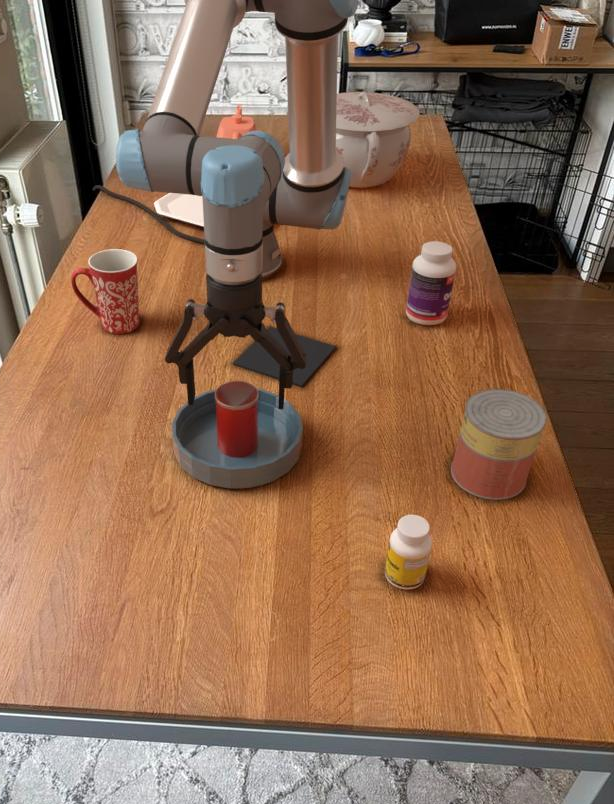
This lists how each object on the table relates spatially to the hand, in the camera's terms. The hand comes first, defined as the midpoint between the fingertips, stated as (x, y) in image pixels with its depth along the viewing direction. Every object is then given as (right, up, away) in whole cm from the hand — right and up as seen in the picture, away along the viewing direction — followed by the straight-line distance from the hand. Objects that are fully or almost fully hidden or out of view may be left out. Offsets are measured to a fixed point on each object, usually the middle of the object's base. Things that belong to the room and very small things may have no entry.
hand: (236, 402), depth 118 cm
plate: (-4, +54, +71) cm, 90 cm away
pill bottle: (+36, +20, +35) cm, 54 cm away
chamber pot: (+30, +67, +84) cm, 112 cm away
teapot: (-1, +75, +93) cm, 119 cm away
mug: (-25, +18, +33) cm, 45 cm away
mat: (+8, +11, +25) cm, 29 cm away
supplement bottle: (+23, -25, -13) cm, 36 cm away
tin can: (0, -6, +6) cm, 9 cm away
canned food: (+39, -11, +2) cm, 40 cm away
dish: (0, -7, +6) cm, 9 cm away
